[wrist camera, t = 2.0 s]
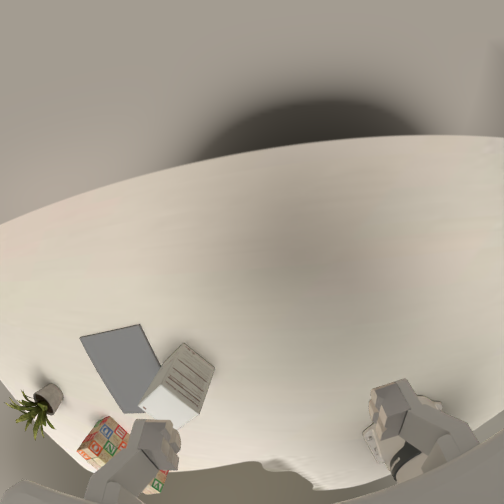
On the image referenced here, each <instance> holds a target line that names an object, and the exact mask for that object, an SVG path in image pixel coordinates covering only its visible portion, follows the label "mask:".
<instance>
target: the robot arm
mask: <svg viewBox="0 0 504 504" xmlns="http://www.w3.org/2000/svg"><path fill="white" fill-rule="evenodd" d="M370 396H371V398H372V399H371V400H370V401H369V406H368V407H369V414H370V417H371V420H372V422H374V423H373V424H372V425H371V426H370V427H369V428H367V429H366V430H365V431H364V432H363V437H364V439H365V441H366V442H367V444H368V446H369V448H370V450H371V452H372V454H373V455H374V457H375V459H376V461H377V462H378V463H385V464H386V466H387V468H388V470H389V471H391V474H392V476H393V477H394V479H395V480H396V481H397V483H398V484H397V485H394V486H391V487H388V488H386V489H383V490H380V491H377V492H374V493H371V494H368V495H364V496H361V497H358V498H354V499H350V500H346V501H342V502H338V503H334V504H504V429H502V430H501V431H499V432H498V433H496V434H495V435H493V436H492V437H490V438H489V439H487V440H486V441H484V442H482V443H481V444H480V443H479V441H478V440H477V438H476V437H475V435H474V434H473V431H472V430H471V428H470V427H469V425H468V423H466V422H464V421H462V420H459V419H457V418H455V417H453V416H451V415H448V414H446V413H444V412H442V411H441V410H442V404H441V402H436V401H431V400H430V399H429V398H427V397H424V396H417V395H416V393H415V392H414V390H413V388H412V387H411V385H410V383H409V382H408V380H407V379H405V378H404V379H401V380H398V381H396V382H392V383H389V384H386V385H383V386H379V387H376V388H373V389H372V390H371V392H370ZM180 448H181V438H180V435H179V433H178V431H177V430H176V429H174V428H173V423H172V422H171V420H151V419H136V420H135V422H134V424H133V427H132V431H131V434H130V437H129V441H128V444H127V448H123V449H122V450H121V451H120V452H118V453H117V454H116V455H115V456H114V457H113V458H112V459H110V460H109V461H108V462H107V463H106V464H105V465H104V466H102V467H101V468H100V469H99V470H98V471H97V472H95V473H94V474H93V475H92V476H91V477H90V480H89V483H88V486H87V489H86V492H85V496H84V499H81V498H78V497H75V496H71V495H68V494H65V493H62V492H59V491H56V490H53V489H51V488H47V487H45V486H43V485H40V484H37V483H35V482H33V481H30V480H22V481H20V482H18V483H16V484H15V485H13V486H12V487H10V488H9V489H8V490H6V492H5V493H4V495H3V497H2V499H1V502H0V504H144V503H143V502H142V501H140V500H139V499H138V498H137V497H138V496H139V495H140V494H141V492H142V491H143V490H144V489H145V488H146V487H147V485H148V484H149V483H150V482H151V480H152V479H153V478H154V477H155V476H156V474H157V473H158V472H159V470H178V463H179V457H178V456H177V453H178V452H179V451H180Z"/></svg>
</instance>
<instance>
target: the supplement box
mask: <svg viewBox="0 0 504 504" xmlns="http://www.w3.org/2000/svg"><path fill="white" fill-rule="evenodd" d="M214 370H215V368H214V367H213V366H212V365H210V364H209V363H208V362H207V361H205V360H204V359H203V358H202V357H200V356H199V355H198V354H197V353H196V352H194V351H193V350H192V349H191V348H189V347H188V346H187V345H186V344H184V343H183V344H182V345H181V346H180V347H179V348H178V349H177V350H176V351H175V352H174V353H173V354H172V355H171V356H170V357H169V358H168V359H167V360H166V361H165V362H164V363H163V364H162V366H161V368H160V369H159V371H158V373H157V374H156V376H155V377H154V379H153V381H152V382H151V384H150V386H149V387H148V389H147V391H146V392H145V394H144V396H143V397H142V399H141V401H140V402H139V404H138V406H139V407H140V408H141V409H142V410H143V411H145V412H146V413H147V414H149V415H150V416H151V417H153V418H154V419H156V420H171V422H172V423H173V428H174V429H176V430H178V429H180V428H181V427H182V426H184V425H185V424H187V423H188V422H190V421H191V420H192V419H194V418H195V417H197V416H198V415H199V414H200V411H201V408H202V405H203V402H204V400H205V397H206V394H207V391H208V388H209V385H210V382H211V379H212V376H213V373H214Z"/></svg>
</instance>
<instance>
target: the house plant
mask: <svg viewBox="0 0 504 504" xmlns="http://www.w3.org/2000/svg"><path fill="white" fill-rule="evenodd" d="M21 391H22V390H21ZM22 393H23V396H24V398H25V399H26V400H27V401H29V402H27V401H24V400H22V402H19V401H20V400H19V401H18V400H17V401H18V402H19V403H21V404H22V405H23V406H18V405H16V404H15V403H14V402H13V401H12V400H11V401H12V402H13V403H14V405H12V404H11V405H12V406H11V405H9V404H7V403H6V404H7V405H8V406H10V407H11V408H14V409H17V410H19V411H21V410H27V411H30V412H28V413H25V412H23V411H21V412H22V413H24V415H21V416H20V417H19V419H16V421H17V422H16V423H18V422H21V421H25V420H28V419H29V420H28V421H27V424H26V428H25V431H26V429H27V427H28V426H29V424H30V423H32V420H33V418H34V419H35V416H36V415H37V414H38V416H37V420H36V422H35V424H34V428H33V432H34V438H35V439H36V435H37V431H38V428H39V426H41V432H42V435H43V426H42V424H43V425H44V426H46V421H47V423H48V425H49V426H50V427H51V428H53V429H55V428H54V427H53V425H52V424H51V423H50V422H49V420H48V419H47V414H48V415H54V413H55V412H56V410H57V408H58V406H59V405H60V403H61V401H62V400H63V393H62V392H61V390H60V389H59V388H58V387H57V386H56V385H54V384H49V385H47V386H45V387H44V388H42V389H40V390H39V391H37V392H36V393H34V395H33V397H34V398H33V399H34V400H35V402H32V401H30V400H28V398H27V397H28V396H27V397H26V395H25V394H24V392H22ZM29 398H31V397H29ZM10 399H11V398H10ZM15 405H16V406H15ZM32 406H35V407H32ZM27 407H28V408H27ZM43 437H44V435H43Z"/></svg>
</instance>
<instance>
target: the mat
mask: <svg viewBox="0 0 504 504" xmlns="http://www.w3.org/2000/svg"><path fill="white" fill-rule="evenodd" d="M80 340H81V342H82V344H83V346H84V348H85V350H86V352H87V354H88V356H89V357H90V359H91V361H92V363H93V365H94V366H95V368H96V370H97V372H98V373H99V375H100V377H101V379H102V380H103V382H104V384H105V385H106V387H107V388H108V390H109V392H110V393H111V395H112V396H113V398H114V399H115V401H116V403H117V404H118V406H119V407H120V409H121V410H122V411H123V413H146V412H145V411H143V410H142V409H141V408H140V407H139V406H138V404H139V402H140V401H141V399H142V397H143V396H144V394H145V392H146V391H147V389H148V387H149V386H150V384H151V382H152V381H153V379H154V377H155V376H156V374H157V373H158V371H159V369H160V368H161V365H160V364H159V362H158V360H157V358H156V356H155V354H154V352H153V350H152V348H151V346H150V344H149V342H148V340H147V338H146V336H145V334H144V332H143V329H142V327H141V325H140V324H139V325H134V326H130V327H125V328H121V329H116V330H112V331H107V332H103V333H98V334H93V335H88V336H84V337H80Z"/></svg>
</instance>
